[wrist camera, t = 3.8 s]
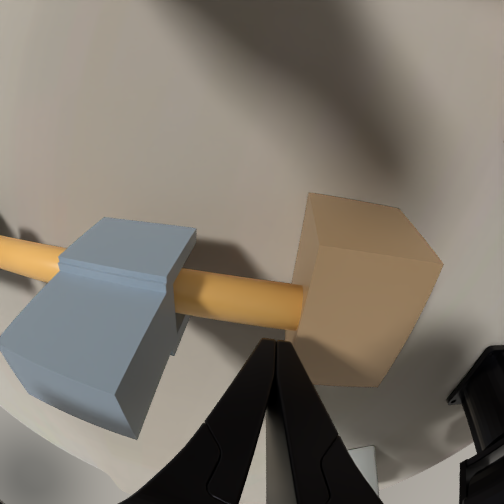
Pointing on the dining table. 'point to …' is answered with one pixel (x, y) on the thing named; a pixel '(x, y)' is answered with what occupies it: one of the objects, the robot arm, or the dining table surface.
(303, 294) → the rail
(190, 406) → the dining table surface
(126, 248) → the notched blue-grey block
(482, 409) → the robot arm
